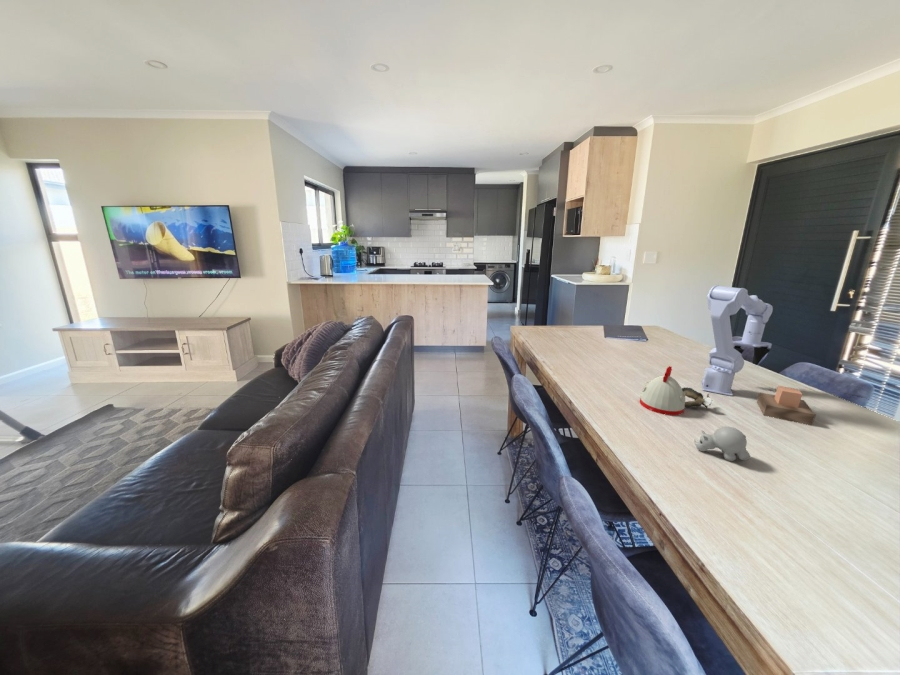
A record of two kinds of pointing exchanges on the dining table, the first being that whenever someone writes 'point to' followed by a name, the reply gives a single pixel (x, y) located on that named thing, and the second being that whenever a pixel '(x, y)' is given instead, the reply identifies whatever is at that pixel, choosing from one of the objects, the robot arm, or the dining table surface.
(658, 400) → the chicken-shaped dome
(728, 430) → the round bodied animal figurine
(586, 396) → the dining table surface
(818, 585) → the dining table surface
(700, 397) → the eagle figurine
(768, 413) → the walnut plinth
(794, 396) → the terracotta cube
